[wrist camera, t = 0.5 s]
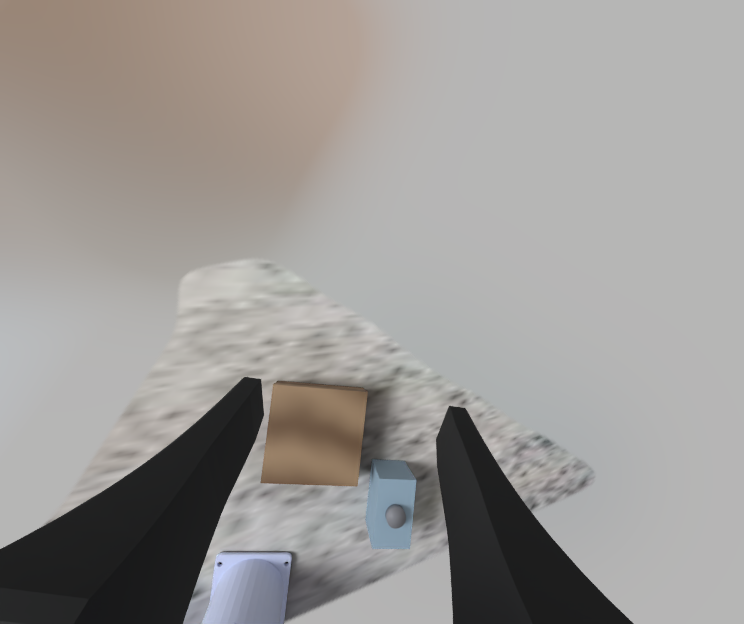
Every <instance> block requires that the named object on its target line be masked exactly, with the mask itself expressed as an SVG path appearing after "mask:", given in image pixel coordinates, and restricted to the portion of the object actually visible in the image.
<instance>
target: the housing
mask: <svg viewBox="0 0 744 624" xmlns="http://www.w3.org/2000/svg"><path fill="white" fill-rule="evenodd" d="M415 490H416V479H415V477H414V475H413V474H412V472H411V471H410V469H409V467H408V466H407V464H406V463H405V461H399V460H378V459H372V464H371V473H370V483H369V492H368V502H367V511H366V524H367V528H368V533H369V537H370V541H371V545H372V549H410V541H411V531H412V521H413V511H414V501H415Z"/></svg>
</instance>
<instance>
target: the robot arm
mask: <svg viewBox="0 0 744 624" xmlns="http://www.w3.org/2000/svg"><path fill="white" fill-rule="evenodd" d="M263 416H264V410H263V398H262V385H261V379H256V378H249V377H244V378H243V379H242V380H241V381H240V382H239V383H238V384H237V385H236V386H234V387H233V388H232V389H231V390H230V391H229V392H228V393H227V394H226V395H225V396H224V397H223V398H222V399H221V400H220V401H219V402H218V403H217V404H216V405H215V406H214V407H213V408H212V409H210V410H209V411H208V412H207V413H206V414H205V415H204V416H203V417H202V418H200V419H199V420H198V421H197V422H196V423H195V424H194V425H193V426H191V427H190V428H189V429H188V430H187V431H185V432H184V433H183V434H182V435H181V436H179V437H178V438H177V439H176V440H175V441H173V442H172V443H171V444H169V445H168V446H167V447H166V448H164V449H163V450H162V451H160V452H159V453H158V454H156V455H155V456H154V457H152V458H151V459H150V460H148V461H147V462H146V463H144V464H143V465H141V466H140V467H139V468H137V469H136V470H134V471H133V472H131V473H130V474H128V475H127V476H125V477H124V478H122V479H121V480H119V481H118V482H116V483H115V484H113V485H112V486H110V487H109V488H107V489H106V490H104V491H103V492H101V493H99V494H98V495H96V496H94V497H93V498H91V499H89V500H88V501H86V502H84V503H83V504H81V505H79V506H78V507H76V508H74V509H73V510H71V511H69V512H68V513H66V514H64V515H63V516H61V517H59V518H57V519H56V520H54V521H52V522H50V523H48V524H47V525H45V526H43V527H41V528H39V529H37V530H35V531H34V532H32V533H30V534H28V535H26V536H24V537H23V538H21V539H19V540H17V541H15V542H13V543H11V544H10V545H8V546H6V547H4V548H2V549H0V624H183V621H184V618H185V615H186V612H187V609H188V606H189V603H190V600H191V597H192V594H193V591H194V588H195V585H196V582H197V579H198V576H199V574H200V571H201V568H202V565H203V562H204V560H205V557H206V554H207V551H208V548H209V545H210V543H211V540H212V537H213V535H214V532H215V529H216V527H217V524H218V521H219V519H220V516H221V513H222V511H223V509H224V506H225V504H226V502H227V500H228V497H229V495H230V493H231V491H232V489H233V487H234V485H235V483H236V481H237V478H238V476H239V474H240V472H241V470H242V468H243V466H244V464H245V462H246V459H247V457H248V455H249V453H250V451H251V449H252V447H253V444H254V442H255V440H256V437H257V434H258V431H259V428H260V425H261V422H262V419H263ZM436 448H437V468H438V475H439V481H440V488H441V494H442V501H443V507H444V514H445V520H446V526H447V534H448V542H449V555H450V570H451V587H452V605H453V624H633V623H632V622H631V621H630V620H629V619H628V618H627V617H626V616H625V615H624V614H623V613H622V612H621V611H620V610H619V609H618V608H617V607H615V605H614V604H612V602H611V601H609V600H608V599H607V598H606V597H605V596H604V595H603V593H602V592H600V590H598V588H597V587H596V586H595V585H594V584H593V583H592V582H591V581H590V580H589V579H588V578H587V577H586V576H585V575H584V574H583V573H582V572H581V570H580V569H579V568H578V567H577V566H576V565H575V564H574V563H573V561H572V560H571V559H570V558H569V557H568V556H567V555H566V554H565V552H564V551H563V550H562V549H561V548H560V547H559V546H558V544H557V543H556V542H555V541H554V540H553V539H552V538H551V536H550V535H549V534H548V533H547V532H546V530H545V529H544V528H543V527H542V525H541V524H540V523H539V522H538V520H537V519H536V518H535V516H534V515H533V514H532V513H531V511H530V510H529V509H528V507H527V506H526V505H525V503H524V502H523V501H522V499H521V498H520V496H519V495H518V494H517V492H516V491H515V489H514V488H513V486H512V485H511V483H510V482H509V481H508V479H507V478H506V476H505V475H504V473H503V471H502V470H501V468H500V467H499V465H498V464H497V462H496V460H495V459H494V457H493V456H492V454H491V452H490V451H489V449H488V447H487V446H486V444H485V442H484V441H483V439H482V437H481V435H480V434H479V432H478V430H477V428H476V426H475V425H474V423H473V421H472V419H471V417H470V416H469V414H468V412H467V410H466V409H465V408H460V407H453V406H449V408H448V410H447V413H446V415H445V418H444V421H443V423H442V426H441V428H440V431H439V433H438V436H437V439H436ZM291 560H292V555H291V554H290V553H288V552H221V553H219V554H218V555H217V557H216V560H215V568H214V575H213V582H212V590H211V597H210V604H209V606H208V609H207V611H206V614H205V616H204V619H203V621H202V624H284V618H285V610H286V601H287V593H288V585H289V576H290V568H291ZM218 562H222V564H219V563H218ZM285 562H288V564H285Z"/></svg>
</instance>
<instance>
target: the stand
mask: <svg viewBox="0 0 744 624" xmlns="http://www.w3.org/2000/svg"><path fill="white" fill-rule="evenodd" d="M367 394H368V392H367V390H364V388H359V387H347V386H335V385H323V384H310V383H298V382H286V381H277V382H276V383H274V384H273V391H272V399H271V406H270V414H269V422H268V430H267V438H266V445H265V453H264V461H263V469H262V477H261V483H273V484H302V485H332V486H358V477H359V467H360V458H361V449H362V440H363V431H364V422H365V412H366V403H367Z"/></svg>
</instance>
